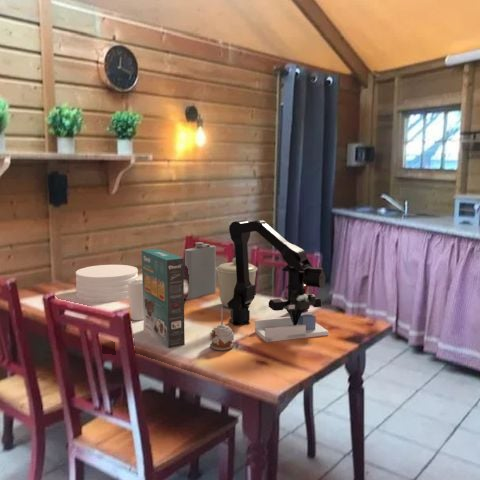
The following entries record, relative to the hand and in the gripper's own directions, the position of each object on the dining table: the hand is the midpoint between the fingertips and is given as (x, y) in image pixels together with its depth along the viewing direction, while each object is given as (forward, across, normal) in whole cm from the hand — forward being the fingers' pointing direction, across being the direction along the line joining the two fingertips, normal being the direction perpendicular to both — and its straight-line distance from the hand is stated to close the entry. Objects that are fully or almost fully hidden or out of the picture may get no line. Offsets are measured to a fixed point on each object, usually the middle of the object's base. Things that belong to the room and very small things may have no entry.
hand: (294, 326), depth 187 cm
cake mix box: (+3, -46, +10) cm, 47 cm away
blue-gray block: (+1, +5, 0) cm, 5 cm away
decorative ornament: (+3, -29, -6) cm, 30 cm away
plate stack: (+3, -62, +77) cm, 99 cm away
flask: (+3, -21, +62) cm, 65 cm away
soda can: (+3, +13, +24) cm, 27 cm away
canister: (+3, -10, +41) cm, 42 cm away
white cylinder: (+3, -52, +34) cm, 62 cm away
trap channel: (+3, -1, 0) cm, 3 cm away
